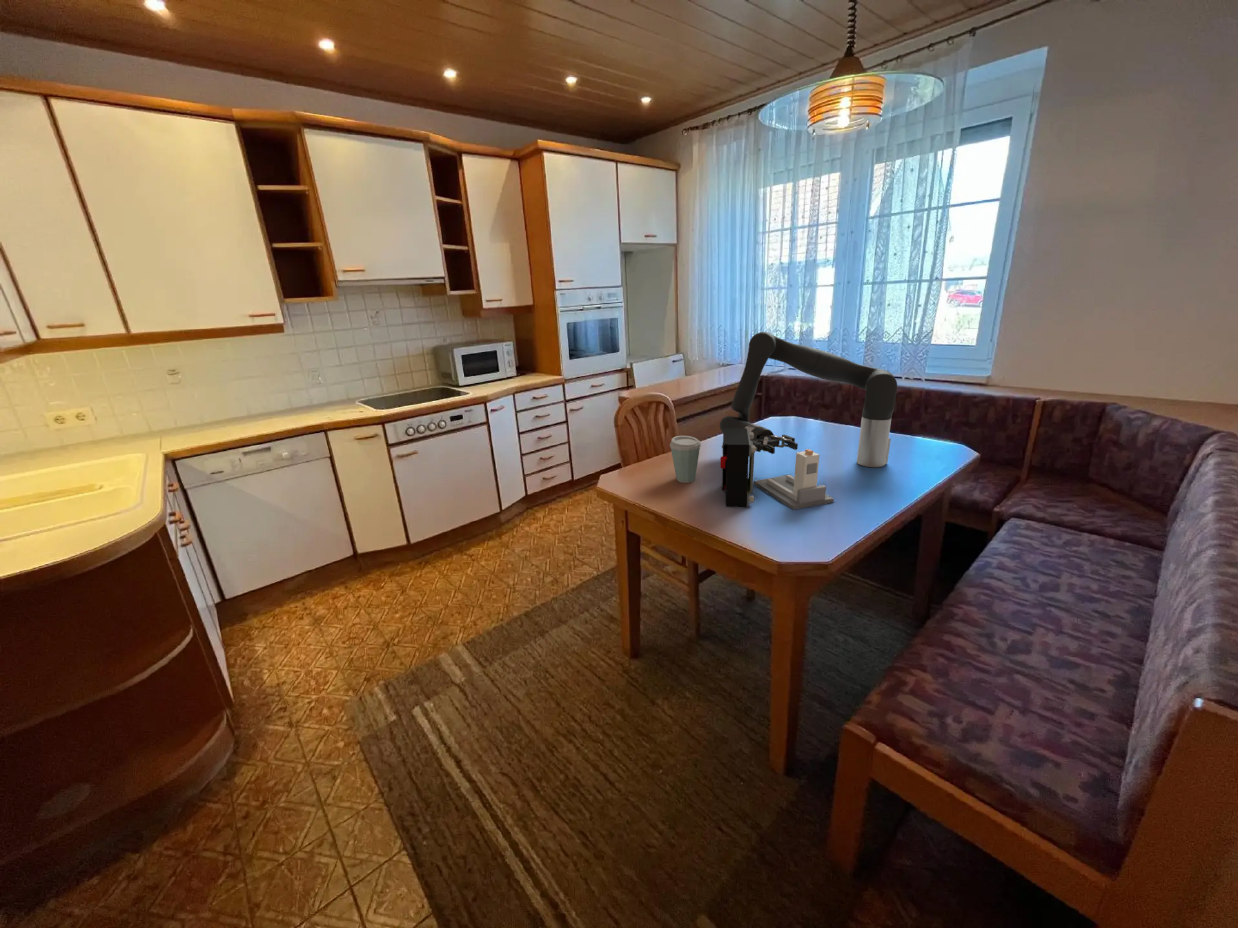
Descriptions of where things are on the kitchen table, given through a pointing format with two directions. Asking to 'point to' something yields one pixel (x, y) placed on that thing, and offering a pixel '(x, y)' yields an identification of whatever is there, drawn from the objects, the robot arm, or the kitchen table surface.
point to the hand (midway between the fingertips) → (785, 448)
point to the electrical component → (737, 466)
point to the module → (806, 470)
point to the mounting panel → (784, 492)
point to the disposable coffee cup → (685, 457)
